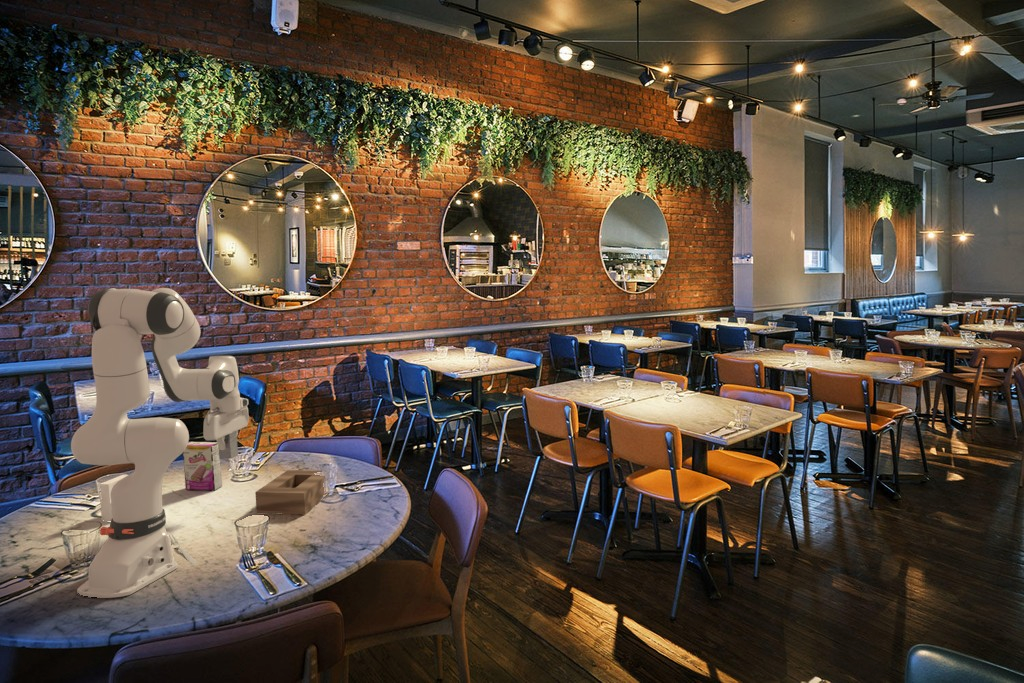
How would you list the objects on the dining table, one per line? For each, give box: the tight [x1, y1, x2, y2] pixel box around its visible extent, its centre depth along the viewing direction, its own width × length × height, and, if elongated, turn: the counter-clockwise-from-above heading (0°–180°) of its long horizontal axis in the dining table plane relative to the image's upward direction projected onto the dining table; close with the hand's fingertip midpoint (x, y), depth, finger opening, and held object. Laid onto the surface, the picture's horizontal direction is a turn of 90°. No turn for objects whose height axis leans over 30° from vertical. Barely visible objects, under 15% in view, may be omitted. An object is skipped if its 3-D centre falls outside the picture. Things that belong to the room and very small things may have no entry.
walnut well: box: [255, 469, 325, 515], centre depth 205 cm, size 22×16×7 cm
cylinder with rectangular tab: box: [99, 474, 129, 522], centre depth 195 cm, size 9×9×12 cm
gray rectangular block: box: [218, 431, 239, 460], centre depth 199 cm, size 4×4×8 cm
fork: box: [168, 534, 198, 565], centre depth 169 cm, size 3×24×2 cm, turn 46°
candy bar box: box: [182, 441, 223, 492], centre depth 219 cm, size 11×5×16 cm, turn 84°
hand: (228, 447), depth 199 cm, fingers closed on gray rectangular block, 4 cm apart
